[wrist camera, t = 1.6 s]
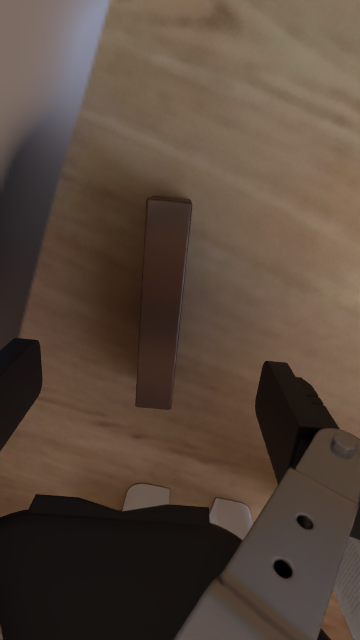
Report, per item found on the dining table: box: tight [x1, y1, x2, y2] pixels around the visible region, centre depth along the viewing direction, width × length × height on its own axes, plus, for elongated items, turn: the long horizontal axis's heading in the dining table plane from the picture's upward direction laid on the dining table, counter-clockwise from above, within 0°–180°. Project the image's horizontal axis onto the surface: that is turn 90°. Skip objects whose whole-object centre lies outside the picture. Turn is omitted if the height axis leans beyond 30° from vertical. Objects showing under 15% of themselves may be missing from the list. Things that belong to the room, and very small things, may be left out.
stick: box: [135, 196, 192, 410], centre depth 18 cm, size 11×2×3 cm, turn 175°
